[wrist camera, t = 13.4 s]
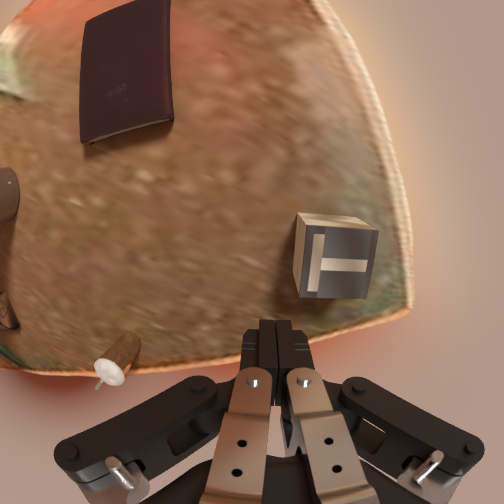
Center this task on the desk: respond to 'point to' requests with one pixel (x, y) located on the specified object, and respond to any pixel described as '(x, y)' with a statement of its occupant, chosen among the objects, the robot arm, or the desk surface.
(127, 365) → the milkshake
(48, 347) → the desk surface
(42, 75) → the desk surface
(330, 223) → the maple block
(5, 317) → the sunglasses case
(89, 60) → the book
